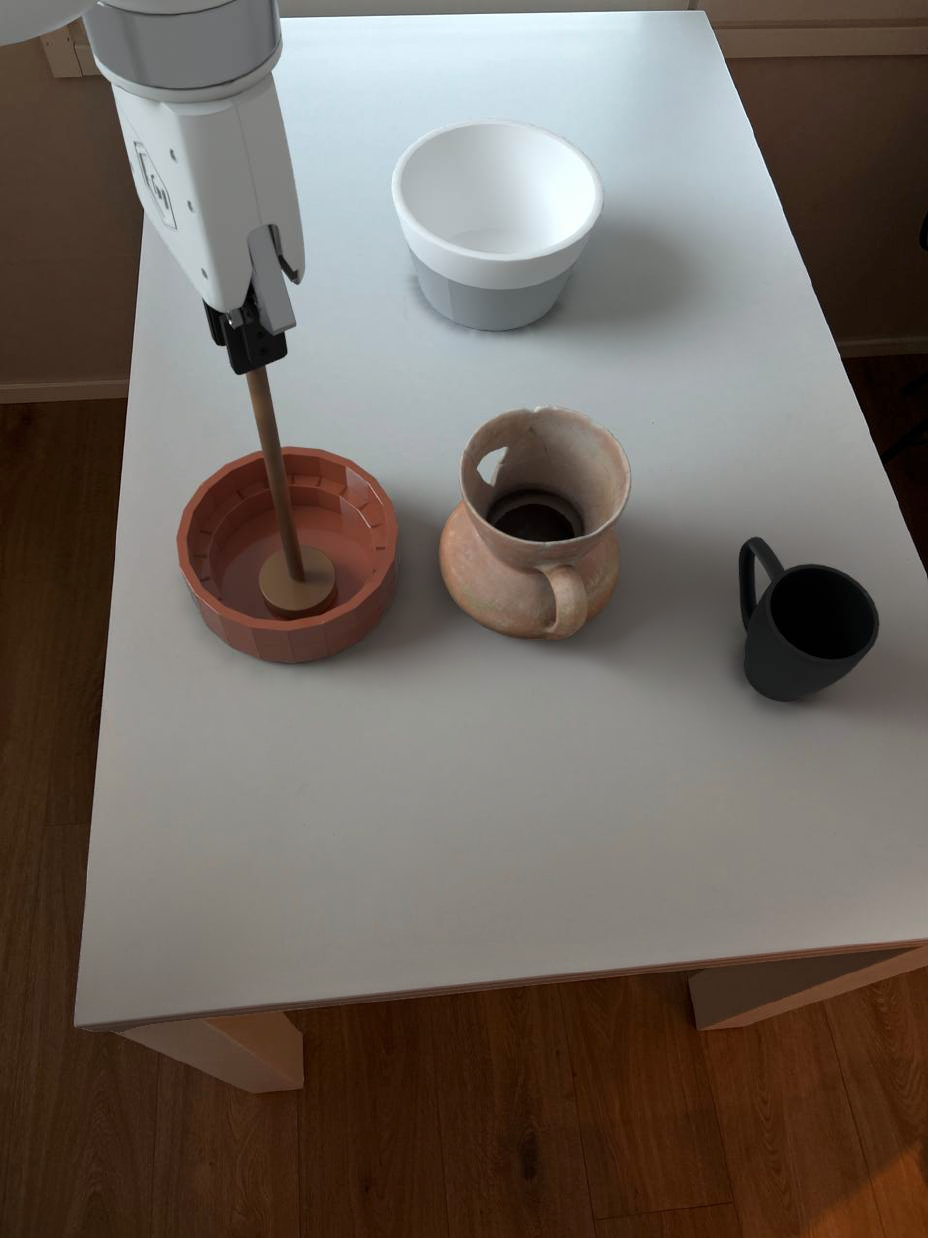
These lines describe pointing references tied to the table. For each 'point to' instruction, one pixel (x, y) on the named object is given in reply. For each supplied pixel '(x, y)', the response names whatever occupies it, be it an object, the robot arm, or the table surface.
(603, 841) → the table surface
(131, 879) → the table surface
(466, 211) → the bowl
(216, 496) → the mixing bowl
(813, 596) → the mug
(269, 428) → the wooden dowel plunger
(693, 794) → the table surface
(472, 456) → the ceramic jug
